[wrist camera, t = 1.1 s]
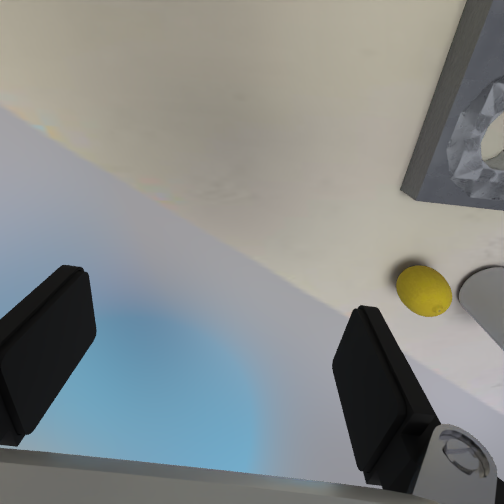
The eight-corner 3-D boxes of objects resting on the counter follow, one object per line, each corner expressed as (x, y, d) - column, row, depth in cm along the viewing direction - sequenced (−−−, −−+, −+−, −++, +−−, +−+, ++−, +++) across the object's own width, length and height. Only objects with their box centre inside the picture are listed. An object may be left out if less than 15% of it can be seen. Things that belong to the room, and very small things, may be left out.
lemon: (389, 293, 42) (415, 333, 35) (385, 260, 40) (412, 297, 33) (430, 283, 41) (465, 323, 34) (429, 249, 39) (466, 285, 32)
